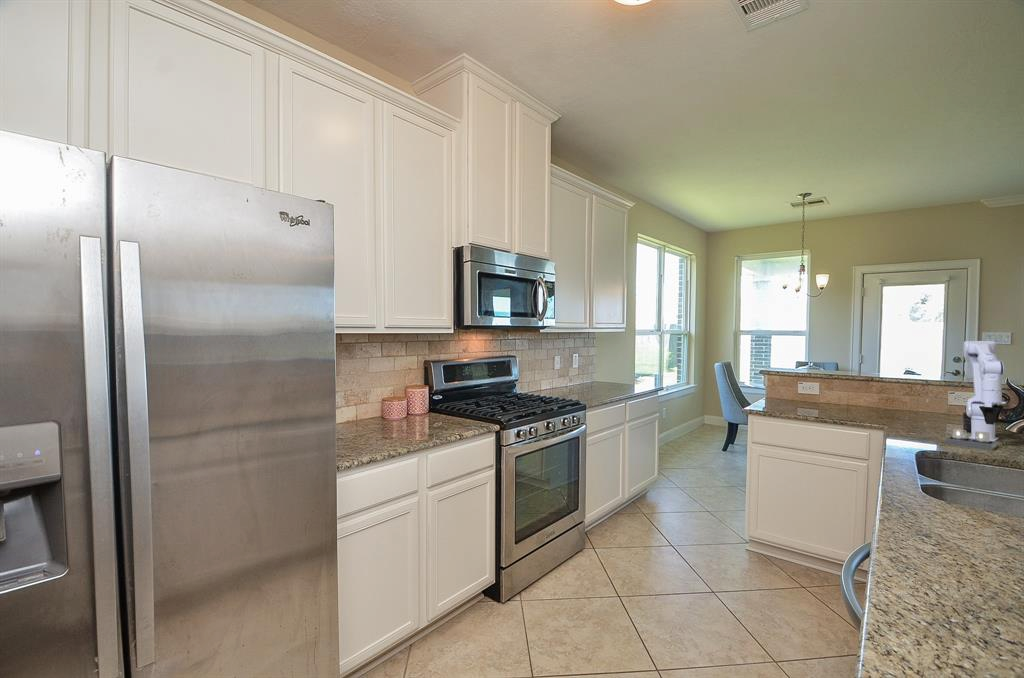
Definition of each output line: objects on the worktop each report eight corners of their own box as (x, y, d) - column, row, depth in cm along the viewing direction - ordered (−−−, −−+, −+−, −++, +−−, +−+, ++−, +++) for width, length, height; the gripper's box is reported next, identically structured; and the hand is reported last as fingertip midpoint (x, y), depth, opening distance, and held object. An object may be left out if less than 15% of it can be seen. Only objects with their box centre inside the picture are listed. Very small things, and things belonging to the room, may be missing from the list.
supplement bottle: (974, 431, 215) (974, 406, 215) (987, 433, 208) (987, 408, 208) (958, 430, 216) (958, 406, 216) (971, 433, 209) (971, 408, 209)
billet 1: (953, 442, 188) (953, 428, 188) (967, 444, 185) (967, 429, 185) (951, 443, 186) (951, 429, 186) (965, 445, 183) (965, 431, 183)
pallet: (951, 442, 191) (951, 436, 191) (996, 448, 180) (996, 441, 180) (945, 444, 186) (945, 438, 186) (991, 451, 175) (991, 444, 175)
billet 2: (976, 445, 183) (976, 431, 183) (990, 447, 180) (990, 432, 180) (974, 446, 180) (974, 432, 181) (988, 448, 177) (988, 433, 177)
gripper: (1002, 392, 176) (1003, 426, 176) (1009, 390, 184) (1009, 422, 184) (977, 390, 182) (977, 424, 181) (984, 388, 190) (984, 420, 190)
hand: (991, 423), depth 183 cm, fingers open, 7 cm apart
